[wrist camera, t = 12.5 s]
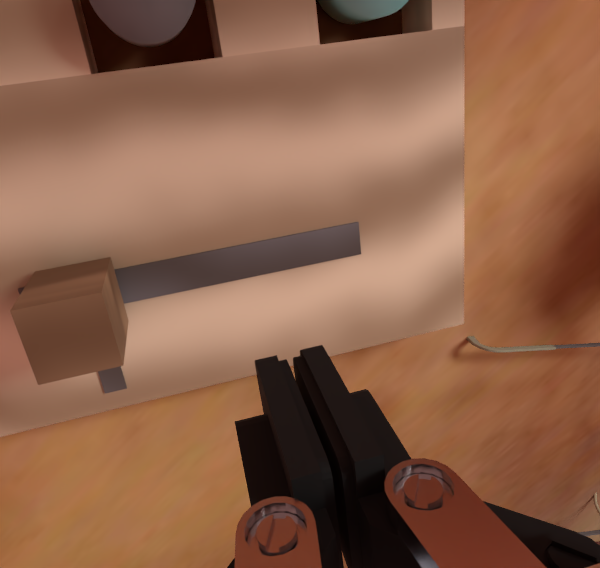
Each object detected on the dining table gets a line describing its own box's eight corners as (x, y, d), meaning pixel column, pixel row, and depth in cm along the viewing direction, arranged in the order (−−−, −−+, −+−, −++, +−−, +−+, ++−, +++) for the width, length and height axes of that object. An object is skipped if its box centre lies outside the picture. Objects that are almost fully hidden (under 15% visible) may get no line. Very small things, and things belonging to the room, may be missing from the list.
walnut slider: (34, 271, 21) (9, 310, 18) (110, 256, 22) (101, 292, 18) (57, 335, 22) (37, 385, 19) (128, 320, 23) (123, 365, 19)
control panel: (-322, -200, 17) (-419, -256, 14) (425, -224, 21) (466, -270, 19) (-39, 413, 26) (-63, 453, 23) (436, 302, 31) (464, 324, 28)
